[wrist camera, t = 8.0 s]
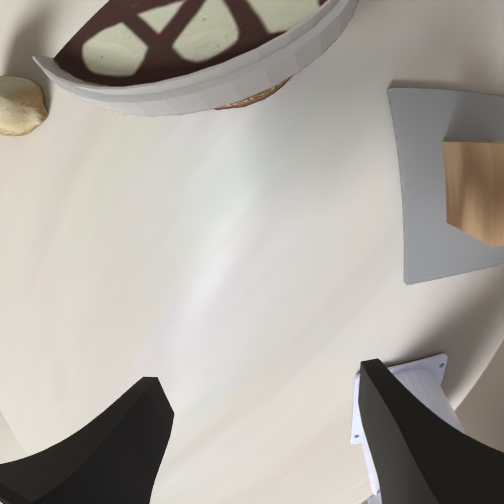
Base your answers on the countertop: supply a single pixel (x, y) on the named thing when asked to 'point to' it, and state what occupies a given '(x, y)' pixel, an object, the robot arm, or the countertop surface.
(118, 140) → the countertop surface
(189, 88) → the food container
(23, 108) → the chocolate bunny
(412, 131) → the slate board
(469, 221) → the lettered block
